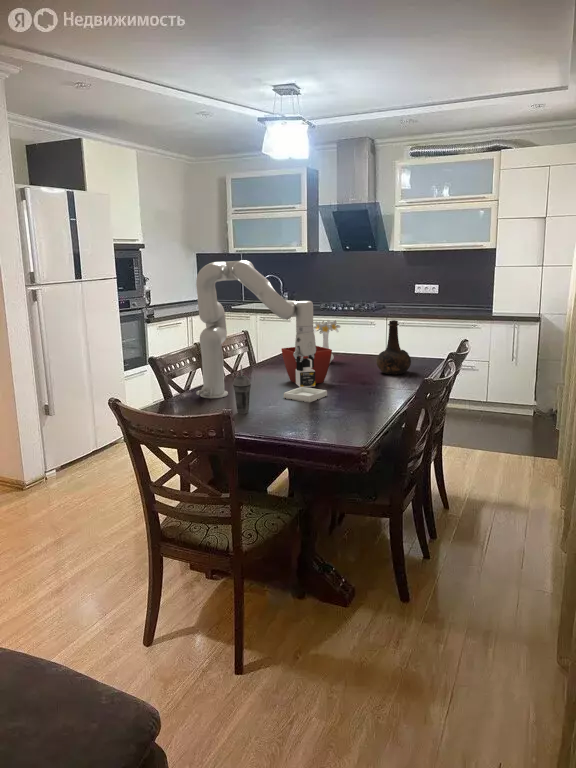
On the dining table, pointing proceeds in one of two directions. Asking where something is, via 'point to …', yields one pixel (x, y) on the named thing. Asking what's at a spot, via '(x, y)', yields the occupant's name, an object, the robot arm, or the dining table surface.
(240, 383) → the beverage cup
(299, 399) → the tray
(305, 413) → the dining table surface
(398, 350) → the glass bottle
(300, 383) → the medicine bottle
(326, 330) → the flower vase
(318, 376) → the plant pot
